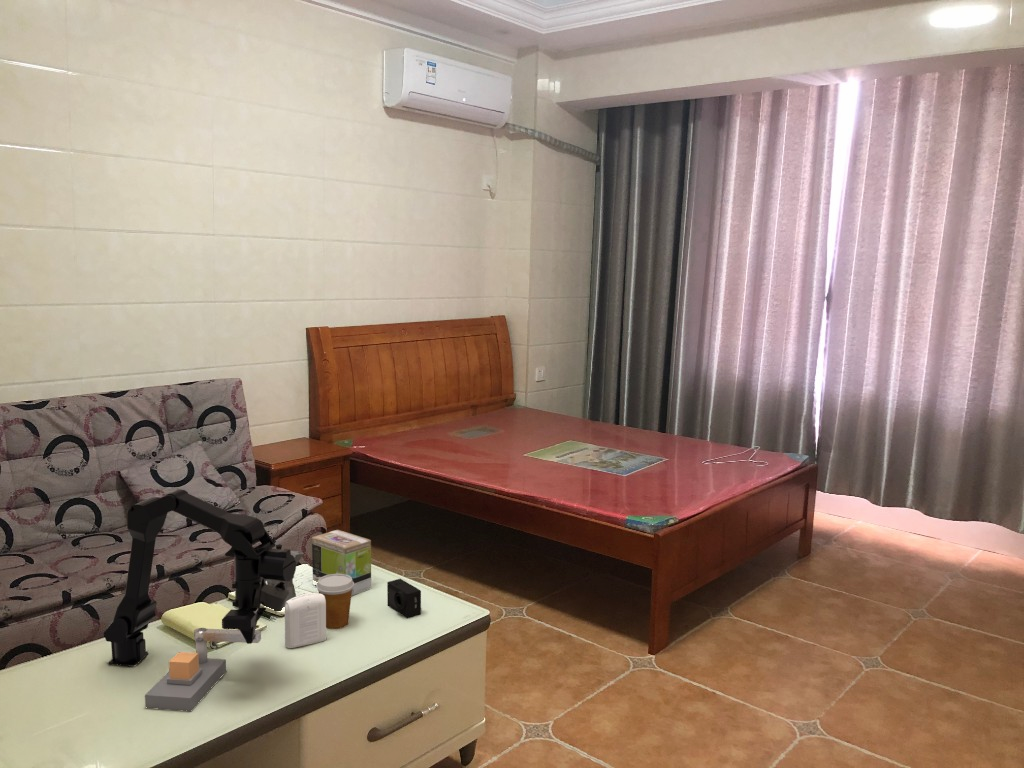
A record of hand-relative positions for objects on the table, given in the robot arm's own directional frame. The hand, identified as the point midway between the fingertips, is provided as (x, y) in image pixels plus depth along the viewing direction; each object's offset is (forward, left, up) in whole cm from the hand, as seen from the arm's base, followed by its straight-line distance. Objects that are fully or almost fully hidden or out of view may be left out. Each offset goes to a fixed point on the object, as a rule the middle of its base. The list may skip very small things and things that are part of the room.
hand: (249, 643), depth 187 cm
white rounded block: (+6, +19, -9) cm, 22 cm away
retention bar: (-6, +2, 0) cm, 6 cm away
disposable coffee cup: (+10, +30, -9) cm, 33 cm away
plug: (-12, -7, -9) cm, 16 cm away
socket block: (-12, -6, -9) cm, 16 cm away
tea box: (+4, +54, -9) cm, 55 cm away
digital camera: (+25, +41, -9) cm, 49 cm away
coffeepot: (-8, +37, -9) cm, 39 cm away
